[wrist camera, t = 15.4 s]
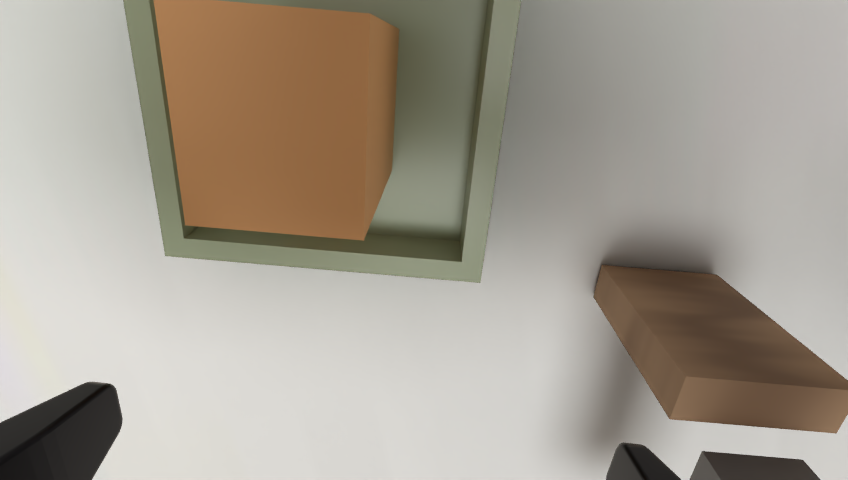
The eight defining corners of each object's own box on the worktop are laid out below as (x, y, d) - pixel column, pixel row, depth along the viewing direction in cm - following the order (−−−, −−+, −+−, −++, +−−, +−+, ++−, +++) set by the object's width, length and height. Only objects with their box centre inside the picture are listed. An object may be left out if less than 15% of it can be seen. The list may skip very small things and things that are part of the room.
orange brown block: (399, 28, 15) (369, 13, 9) (392, 170, 17) (363, 240, 11) (272, 17, 15) (152, -5, 9) (279, 160, 17) (184, 225, 11)
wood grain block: (716, 274, 19) (861, 391, 13) (704, 306, 20) (836, 433, 13) (601, 264, 19) (686, 376, 13) (593, 296, 20) (669, 419, 13)
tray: (520, -77, 15) (536, -102, 12) (475, 254, 19) (480, 282, 17) (155, -108, 15) (100, -139, 12) (199, 230, 19) (165, 255, 17)
